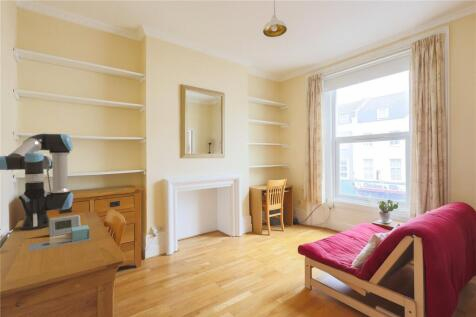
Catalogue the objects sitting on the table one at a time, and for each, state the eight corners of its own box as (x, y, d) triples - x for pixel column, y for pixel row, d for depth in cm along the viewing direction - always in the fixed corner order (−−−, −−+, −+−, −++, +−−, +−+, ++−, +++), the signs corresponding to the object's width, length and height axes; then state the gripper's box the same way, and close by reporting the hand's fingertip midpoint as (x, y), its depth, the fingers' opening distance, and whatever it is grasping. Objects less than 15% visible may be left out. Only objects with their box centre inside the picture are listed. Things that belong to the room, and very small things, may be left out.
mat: (29, 245, 127) (29, 244, 127) (88, 235, 144) (88, 234, 144) (27, 252, 117) (27, 251, 117) (90, 240, 134) (90, 239, 134)
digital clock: (47, 238, 139) (47, 220, 139) (50, 234, 147) (49, 217, 147) (80, 233, 147) (80, 216, 147) (81, 230, 155) (81, 213, 155)
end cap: (71, 237, 138) (71, 227, 138) (87, 234, 143) (87, 225, 143) (72, 241, 131) (72, 231, 131) (89, 238, 136) (89, 228, 136)
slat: (49, 242, 130) (49, 237, 130) (80, 237, 138) (80, 232, 138) (49, 244, 127) (49, 239, 127) (80, 239, 135) (80, 233, 135)
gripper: (17, 183, 117) (17, 230, 118) (50, 181, 125) (51, 225, 126) (18, 181, 123) (19, 226, 124) (50, 180, 131) (50, 221, 132)
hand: (35, 225), depth 125 cm, fingers closed
